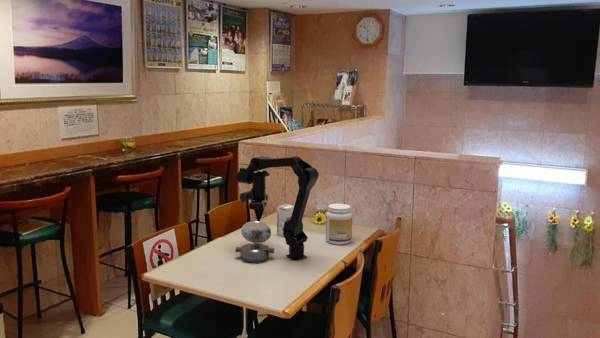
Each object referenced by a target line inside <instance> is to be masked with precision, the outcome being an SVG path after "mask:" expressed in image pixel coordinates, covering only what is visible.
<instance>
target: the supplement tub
mask: <svg viewBox="0 0 600 338" xmlns="http://www.w3.org/2000/svg"><path fill="white" fill-rule="evenodd" d="M327 207H328V208H327V210H328V211H327V212H326V213H325V214H326V216H325V240H326V242H327V243H329V244H333V245H338V246H340V245H348V244H349V243H351V242H352V240H353V237H352V236H353V213H352V211H351V210H352V209H351V208H352V207H351V205H349V204H346V203H331V204H328V206H327Z"/></svg>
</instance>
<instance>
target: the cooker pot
mask: <svg viewBox="0 0 600 338" xmlns="http://www.w3.org/2000/svg"><path fill="white" fill-rule="evenodd" d="M235 253H240V260H241V261H242V262H243V263H247V264H261V263H262V264H263V263H265V262H268V261H269V260H270V254H274V253H275V247H273V248H272V247H270V246H269V245H267V244H265V243H254V242H251V243H248V244H247V243H246V244H244V245H242V246H241V247H240V246H239V247H238V246H236V248H235Z"/></svg>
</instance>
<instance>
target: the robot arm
mask: <svg viewBox="0 0 600 338" xmlns="http://www.w3.org/2000/svg"><path fill="white" fill-rule="evenodd" d="M280 167H281V168H283V167H284V168H285V167H290V168H291V169H292V171H293V173H294V174H295V176H296V177H297V184H298V191H297V195H296V199H295V202H294V205H293V206H294V209H293V212H292V216H291V219H290V220H288V221H285V223H284V228H283V229H282V230H283V235H284V237H283V238H284V240H285V244H286V245H287V246H288V254H286V255H285V256H286V257H287V258H289V259H291V260H293V261H298V260H301V259H306V258H308V256H307V255H305V242H307V240H308V238H309V237H308V236H307V234H306V233H305V232H304V224H303V219H304V214H305V211H306V207H307V203H308V201H309V197H310V193H311V190H312V189H313V187H314V186H315V185H316V183H317V181H318V178H319V176H320V173H319V172H318V170H317V168H315V167H313V166H312V165H311V164H309V163H308V162H306V161H304V160H303V159H302V158H301V157H300V156H298V155H295V156H288V157H285V156H284V157H269V156H265V155H262V156H255V157H253V158H251V159H250V162H249V164H248V166H247V167H240V168H239V170H238V172H237V175H236V178H235V179H236V181H237V183H239V184H247V185H251V186H252V187H251V189H250V190H248V191H244V192H241V193H240V194H239V195H238V197H239V198H238V199H239V200H240V203H245V202H246V201H249V200H250V202H249V204H248V209H249V210H253V211H254V214H255V218H256V221H260V222H261V220H262V216H263V214H264V212H265V209H266V207H267V204H268V201H269V195H268V194H267V193H266V190H267V186H266V177H269V176H270V175H271V174H270V173H269V172H268V171H267V170H266V169H270V168H280Z"/></svg>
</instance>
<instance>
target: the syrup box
mask: <svg viewBox="0 0 600 338" xmlns="http://www.w3.org/2000/svg"><path fill="white" fill-rule="evenodd" d="M293 209H294V205H292V204H285V203H284V204H282V205H279V206H277V210H276V211H277V212H276V213H277V215H276V217H277V219H276V222H277V223H276V236H279V237H280V236H281V237H283V238H285V237H284V235H283V230H282V229H283V228H284V223H285V221H288V220H290V219H291V216H292V212H293Z"/></svg>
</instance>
